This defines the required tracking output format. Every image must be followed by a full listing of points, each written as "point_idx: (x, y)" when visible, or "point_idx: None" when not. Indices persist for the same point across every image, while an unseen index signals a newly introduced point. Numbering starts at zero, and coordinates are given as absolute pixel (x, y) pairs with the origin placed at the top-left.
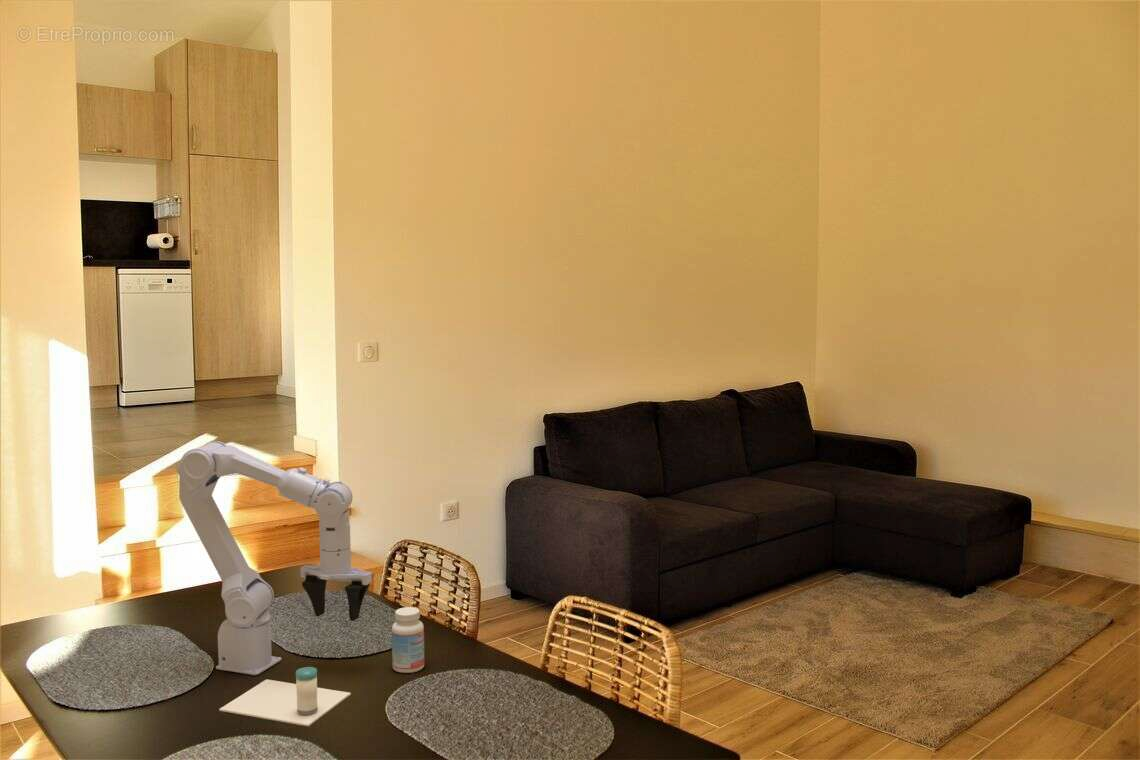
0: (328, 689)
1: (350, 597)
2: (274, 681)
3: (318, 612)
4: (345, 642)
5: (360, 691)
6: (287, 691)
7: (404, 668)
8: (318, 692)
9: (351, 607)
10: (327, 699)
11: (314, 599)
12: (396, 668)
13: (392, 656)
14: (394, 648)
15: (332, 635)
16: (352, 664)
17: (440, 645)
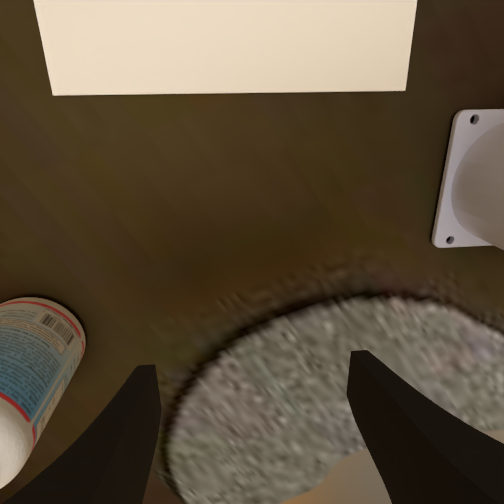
0: (148, 93)
1: (66, 483)
2: (369, 83)
3: (358, 367)
4: (318, 400)
5: (44, 132)
6: (277, 20)
7: (4, 304)
8: (163, 54)
9: (106, 418)
10: (90, 7)
11: (409, 413)
12: (37, 301)
13: (50, 330)
14: (12, 342)
15: None
16: (210, 296)
17: None
